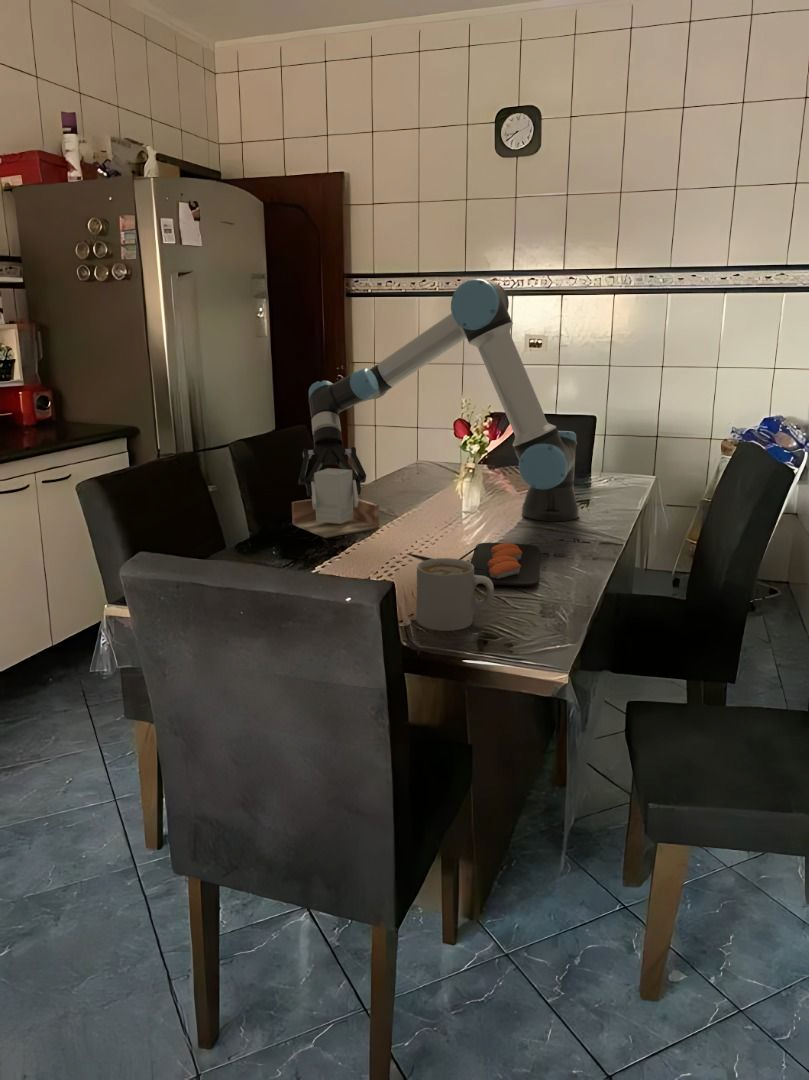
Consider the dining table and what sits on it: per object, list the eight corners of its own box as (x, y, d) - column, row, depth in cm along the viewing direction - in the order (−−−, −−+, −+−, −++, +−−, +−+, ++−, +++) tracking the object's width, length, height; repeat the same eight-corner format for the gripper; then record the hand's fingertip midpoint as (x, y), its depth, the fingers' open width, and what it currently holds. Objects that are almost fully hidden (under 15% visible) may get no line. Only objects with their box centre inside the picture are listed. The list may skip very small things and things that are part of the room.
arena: (378, 528, 204) (378, 505, 202) (324, 537, 195) (324, 513, 193) (344, 515, 216) (344, 494, 214) (292, 524, 207) (291, 501, 205)
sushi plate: (538, 593, 157) (539, 575, 156) (388, 585, 162) (388, 567, 161) (539, 552, 185) (540, 536, 184) (411, 546, 190) (411, 530, 188)
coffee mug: (411, 628, 138) (411, 572, 136) (422, 608, 148) (423, 556, 145) (488, 634, 135) (490, 578, 133) (495, 614, 145) (497, 561, 142)
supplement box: (354, 518, 206) (353, 469, 202) (340, 524, 199) (339, 474, 196) (329, 515, 209) (328, 467, 205) (314, 521, 202) (313, 472, 199)
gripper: (367, 440, 216) (378, 511, 205) (283, 443, 212) (290, 515, 201) (370, 423, 210) (381, 495, 199) (284, 425, 205) (290, 499, 194)
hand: (335, 505), depth 200 cm, fingers closed on supplement box, 10 cm apart
